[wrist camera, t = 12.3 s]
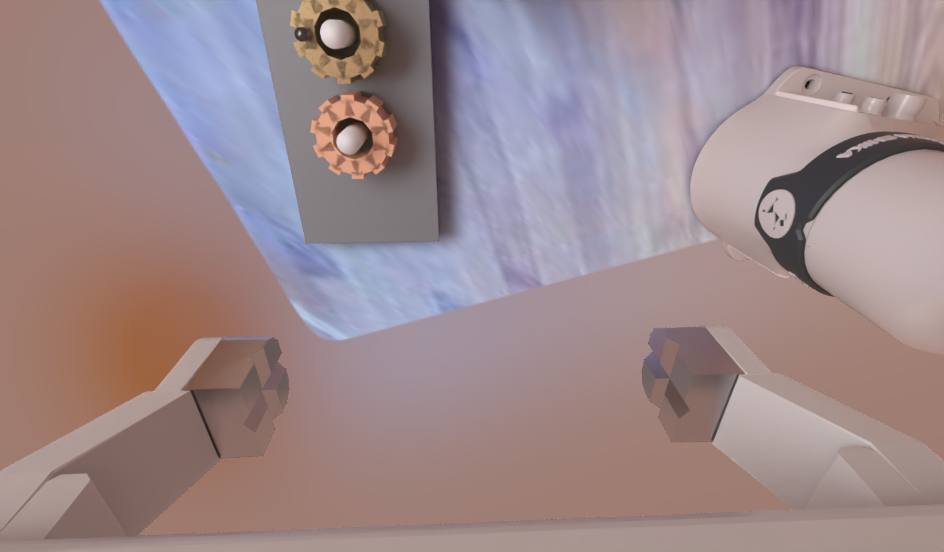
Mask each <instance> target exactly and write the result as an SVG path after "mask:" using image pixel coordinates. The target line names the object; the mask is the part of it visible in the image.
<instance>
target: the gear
mask: <svg viewBox="0 0 944 552" xmlns="http://www.w3.org/2000/svg"><path fill="white" fill-rule="evenodd" d="M371 1H372V0H303V1H302V4H301V6H300V8H299V10H298V11H296V10H292V11H291V20H290V26H292V27H295V28H296V29H295V32H294V34H295V37H296V39H297V40H298V41H297V42H294V43H293V44H294V46H295V48H296V50H297V53H298V55H299V57H305V56H306V58H307V59H308V60H309V61H310V62H311V64H312V65H313V67H312V69H311V71H312V72H313V73H315V74H316V75H318V76H319V77H321V78H322V79H325V78H327V77H330V76H332V77H335V78H337V83H338V84H352V83H353V82H355V81H357V80H358V75H359V74H361V76H362V77H363V78H364V79H365V78H367V77H368V76H370V75H372V74H373V73H374V72H375V71H376V70H377V69H378V68H380V67H379V66H378V64H377V63H376V62H377V61H378V59H379V57H383V56H386V55H387V51H388V46H389V41H386V40H384V30H383V28H384V27H386V26H388V24H387V21H386V18H385V16H384V13H383V11H379V10H375V9H374V7H373V6H372V4H371ZM338 10H344V11H347V12H349V13H350V14H351V16H352V17H353V18H354V20H355V21H356V22H357V24H358V25H359V29H360V38H361V43H360V45H359V47H358V49H357V51H356V52H355V54H354V55H353V56H351V57H345V56H342V55H340V54H337V53H336V52H335V51H334V50H333V49H332V48H330V47H328V46H327V45H325V44H324V42H323V41H322V39H321V35H320V29H321V26H322V24H323V23H324V22H325V21H327V20H328V18H329V16H330V14H331V13H333V12H336V11H338Z"/></svg>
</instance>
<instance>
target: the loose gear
mask: <svg viewBox="0 0 944 552" xmlns="http://www.w3.org/2000/svg"><path fill="white" fill-rule="evenodd" d="M340 96H341V99H340V98H339V97H338V96H337V95H335V96H333V97H332V98H330V99H328V100H327V101H326V102H325V103H323V104H322V105H321V106H320V107H319V109H320V111H321V112H322V114H320V115H319V116H317V117H316V118H314V119H313V120H312V124H311V131H310V132H311V133H314V134H316V140H317V143H316V144H315V145H314V146H313V148H314V150H315V152H316V154H317V156H318V158H320V157H324V158H325V159H326V160H327V161H328V162H329V163H330V166H329V168H328V169H330V170H331V171H333V172H335V173H336V174H338V175H340V173H341V172H346V173H349V174H351V175H352V179H364V178H365V176H366V175H367V173H368V172H371V171H373V172H374V173H375V174H378V173H379V172H380V171H381V170H383V169H384V168H385V166H386V164H387V162H388V160H389V157H388V156H390V157H392V155H393V153H394V151H395V149H396V145H397V141H398V137H395V136H394V135H393V131H394V129H395V127H396V126H397V123H396V120H395V118H394V115H393V113H391V114H387V112H386V111H385V110H384V109H383V107H382V105H383V103H384V102H383V101H382V100H381V99H379V98H378V97H376V96H375V95H372V96H371V97H370V98H367V97H364V96H361V90H348V91H346V92H345V93H343V94H341V95H340ZM349 117H351V118H354V119H358V120H361V121H363V122H364V123H365V124H366V125H367V127H368V128H369V129H370V130H371V132H372V137H373V147H372V148H369V149H366V150H363V151H360V150H358V151H357V152H356V153H355V154H351V155H348V154H345V153H343V152H341V151H340V150H339V148H338V146H337V142H336V141H337V137H338V135H339V134H340V133H341V128H340V125H341V123H342V121H343V119H346V118H349Z"/></svg>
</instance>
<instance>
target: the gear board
mask: <svg viewBox="0 0 944 552" xmlns="http://www.w3.org/2000/svg"><path fill="white" fill-rule="evenodd" d="M302 1H303V0H256V3H257V8H258V13H259V18H260V23H261V27H262V32H263V37H264V42H265V47H266V52H267V57H268V61H269V66H270V71H271V76H272V81H273V86H274V91H275V95H276V100H277V105H278V110H279V115H280V120H281V125H282V129H283V134H284V139H285V144H286V149H287V154H288V159H289V164H290V168H291V173H292V178H293V183H294V188H295V193H296V198H297V202H298V207H299V212H300V217H301V222H302V227H303V232H304V236H305V241H306V244H312V243H368V242H424V241H439V212H438V188H437V164H436V140H435V116H434V92H433V68H432V43H431V19H430V0H372V1H371V4H372V6H373V7H374V9H375V10H379V11H383V13H384V16H385V18H386V21H387V24H388V26H386V27H384V28H383V30H384V40H386V41H389V46H388V51H387V55H386V56H383V57H379V59H378V61H377V62H376V63H377V64H378V66H379V67H380V68H378V69H377V70H376V71H375V72H374V73H373V74H372V75H370V76H368V77H367V78H365V79H364V78H363V77H362V76H361V74H359V75H358V80H357V81H355V82H353V83H352V84H338V83H337V78H335V77H332V76H330V77H327V78H325V79H322V78H321V77H319V76H318V75H316V74H315V73H313V72H312V71H311V69H312V67H313V65H312V64H311V62H310V61H309V60H308V59H307V58H306V56H305V57H299V55H298V53H297V50H296V48H295V46H294V44H293V43H294V42H297V41H298V40H297V39H296V37H295V34H294V32H295V29H296V28H295V27H292V26H290V20H291V11H292V10H296V11H298V10H299V8H300V6H301V4H302ZM320 35H321V39H322V41H323V42H324V44H325V45H327V46H328V47H330V48H332V49H333V50H334V51H335V52H336V53H337V54H340V55H342V56H345V57H351V56H353V55H354V54H355V52H356V51H357V49H358V47H359V45H360V43H361V38H360V29H359V25H358V24H357V22H356V21H355V20H354V18H353V17H352V16H351V14H350V13H349V12H347V11H344V10H338V11H336V12H333V13H331V14H330V16H329V18H328V20H327V21H325V22H324V23H323V24H322V26H321V29H320ZM348 90H361V96H364V97H367V98H370V97H371V96H372V95H375V96H376V97H378V98H379V99H381V100H382V101H383V102H384V103H383V105H382V107H383V109H384V110H385V111H386V112H387V114H391V113H393V115H394V118H395V120H396V123H397V126H396V127H395V129H394V131H393V135H394V136H395V137H398V141H397V145H396V149H395V151H394V153H393V155H392V157H390V156H388V157H389V160H388V162H387V164H386V166H385V168H384V169H383V170H381V171H380V172H379V173H378V174H375V173H374V172H373V171H371V172H368V173H367V175H366V176H365V178H364V179H352V175H351V174H349V173H346V172H341V173H340V175H338V174H336V173H335V172H333V171H331V170H330V169H328V168H329V166H330V163H329V162H328V161H327V160H326V159H325V158H324V157H320V158H318V156H317V154H316V152H315V150H314V148H313V146H314V145H315V144H316V143H317V140H316V134H314V133H311V132H310V131H311V124H312V120H313V119H314V118H316V117H317V116H319V115H320V114H322V112H321V111H320V109H319V107H320V106H321V105H322V104H323V103H325V102H326V101H327V100H328V99H330V98H332V97H333V96H335V95H337V96H338V97H339V98H340V99H341V96H340V95H341V94H343V93H345V92H346V91H348ZM340 128H341V133H340V134H339V135H338V137H337V141H336V142H337V146H338V148H339V150H340V151H341V152H343V153H345V154H348V155H351V154H355V153H356V152H357V151H358V150H360V151H363V150H366V149H369V148H372V147H373V137H372V132H371V130H370V129H369V128H368V127H367V125H366V124H365V123H364V122H363V121H361V120H358V119H354V118H351V117H349V118H346V119H343V121H342V123H341V125H340Z"/></svg>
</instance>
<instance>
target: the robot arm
mask: <svg viewBox="0 0 944 552" xmlns="http://www.w3.org/2000/svg"><path fill="white" fill-rule="evenodd" d="M808 80H809V85H808V86H807V87H806V88H805V84H806V82H807V81H808ZM939 118H940V111H939V102H938V100H937V99H935V98H933V97H930V96H926V95H922V94H918V93H914V92H910V91H906V90H902V89H897V88H893V87H889V86H885V85H880V84H876V83H872V82H868V81H863V80H859V79H855V78H851V77H846V76H842V75H838V74H834V73H829V72H825V71H821V70H817V69H812V68H808V67H804V66H793V67H791V68H789V69H787V70H786V71H785V72H784V73H783V74H781V75H780V77H779V78H778V79H777V80H776V81H775V82H774V83H773V84H772V85H771V86H770V87H769V89H768V90H767V91H766V92H765V93H764V94H763V95H762V96H760V97H759V98H758V99H756V100H755V101H753V102H751V103H750V104H748V105H746V106H745V107H743V108H742V109H740V110H739V111H737V112H736V113H734V114H733V115H732V116H730V117H729V118H728V119H727V120H726V121H725V122H724V123H722V124H721V125H720V126H719V127H718V129H717V130H716V131H715V132H714V133H713V134H712V136H711V137H710V138H709V140H708V141H707V142H706V144H705V145H704V147H703V149H702V150H701V152H700V154H699V156H698V158H697V161H696V163H695V166H694V169H693V172H692V177H691V183H690V198H691V203H692V207H693V210H694V212H695V214H696V216H697V218H698V219H699V221H700V222H701V223H702V224H703V225H704V226H705V227H706V228H707V229H708V230H710V231H711V232H712V233H714V234H715V235H716V236H717V237H718V238H719V239H720V240H721V243H722V245H723V248H724V250H725V252H726V254H727V255H728V256H729V257H731V258H733V259H734V260H737V261H743V260H748V259H751V260H752V261H754V262H756V263H757V264H759V265H761V266H762V267H764V268H766V269H767V270H769V271H771V272H773V273H774V274H776V275H778V276H780V277H783V278H789V277H791V276H793V277H794V278H795V279H797V280H798V281H800V282H801V283H803V284H805V285H806V286H808V287H811V288H813V289H815V290H817V291H818V292H820V293H823V294H825V295H828V296H833V297H836V298H838V299H839V300H840V301H842V302H843V303H845V304H846V305H847V306H849V307H850V308H852V309H853V310H855V311H856V312H857V313H859V314H860V315H862V316H863V317H865V318H866V319H867V320H869V321H870V322H872V323H873V324H875V325H876V326H877V327H879V328H880V329H882V330H883V331H885V332H886V333H887V334H889V335H890V336H892V337H893V338H895V339H896V340H897V341H899V342H900V343H902V344H904V345H906V346H908V347H911V348H913V349H916V350H919V351H923V352H927V353H932V354H937V355H943V356H944V127H943V126H939ZM648 344H649V345H650V347H651V349H652V350H653V352H651V353H650V354H649V355H648V356H647V357H646V358H645V359H644V363H643V368H642V382H643V386H644V390H645V393H646V395H647V397H648V399H649V401H650V402H651V403H653V404H654V405H656V406H658V407H659V408H660V412H659V416H658V418H659V420H660V421H661V423H662V425H663V427H664V429H665V431H666V433H667V434H668V436H669V438H670V440H671V442H713V443H712V444H713V445H714V446H716V447H717V448H718V449H719V450H721V451H722V452H723V453H724V454H726V455H727V456H728V457H729V458H730V459H732V460H733V461H734V462H735V463H737V464H738V465H739V466H740V467H742V468H743V469H744V470H745V471H747V472H748V473H749V474H750V475H751V476H753V477H754V478H755V479H756V480H758V481H759V482H760V483H761V484H763V485H764V486H765V487H766V488H767V489H769V490H770V491H771V492H772V493H774V494H775V495H776V496H777V497H778V498H780V499H781V500H782V501H783V502H785V503H786V504H787V505H788V506H790V507H791V508H792V509H793V510H775V511H748V512H724V513H723V512H722V513H696V514H671V515H649V516H648V515H647V516H622V517H597V518H572V519H545V520H520V521H498V522H497V521H495V522H471V523H445V524H418V525H395V526H394V525H393V526H367V527H342V528H317V529H293V530H267V531H243V532H217V533H191V534H166V535H141V536H137V535H138V534H140V533H141V532H142V531H143V530H144V529H145V528H146V527H147V526H148V525H150V524H151V523H152V522H153V521H154V520H155V519H156V518H157V517H158V516H159V515H160V514H162V513H163V512H164V511H165V510H166V509H167V508H168V507H169V506H171V505H172V504H173V503H174V502H175V501H176V500H177V499H178V498H179V497H181V495H182V494H184V493H185V492H186V491H187V490H188V489H189V488H190V487H192V486H193V485H194V484H195V483H196V482H197V481H198V480H199V479H200V478H201V477H203V476H204V475H205V474H206V473H207V472H208V471H209V470H210V469H211V468H213V467H214V466H215V465H216V464H217V463H218V462H219V461H220V460H219V459H223V458H239V457H255V456H263V455H264V453H265V451H266V449H267V446H268V444H269V442H270V440H271V437H272V435H273V433H274V430H275V427H274V424H273V421H272V420H273V419H275V418H276V417H277V416H279V415H280V414H281V413H283V410H284V408H285V405H286V403H287V398H288V392H289V379H288V374H287V371H286V369H285V368H284V367H283V366H282V365H281V364H279V363H278V362H277V361H278V359H279V357H280V355H281V353H282V352H281V349H280V346H279V343H278V340H276V339H275V338H273V337H238V338H237V337H227V338H202V339H199V340H196V341H195V342H194V344H193V345H192V346H191V347H190V349H189V350H188V351H187V352H186V353H185V354H184V356H183V357H182V358H181V359H180V360H179V362H178V363H177V364H176V365H175V366H174V368H173V369H172V370H171V371H170V373H169V374H168V375H167V376H166V377H165V378H164V380H163V381H162V382H161V383H160V384H159V386H158V387H157V388H156V389H155V390H154V392H144V393H143V394H141V395H139V396H137V397H135V398H133V399H132V400H130V401H128V402H126V403H124V404H122V405H120V406H119V407H117V408H115V409H113V410H111V411H110V412H108V413H106V414H104V415H102V416H100V417H98V418H97V419H95V420H93V421H91V422H89V423H88V424H86V425H84V426H82V427H80V428H78V429H76V430H75V431H73V432H71V433H69V434H67V435H66V436H64V437H62V438H60V439H58V440H56V441H55V442H53V443H51V444H49V445H47V446H45V447H44V448H42V449H40V450H38V451H36V452H34V453H33V454H31V455H29V456H27V457H25V458H23V459H22V460H20V461H18V462H16V463H14V464H12V465H11V466H9V467H7V468H5V469H3V470H1V471H0V552H944V461H943V460H942V459H941V458H939V457H938V456H937V455H936V454H935V453H934V452H933V451H932V450H930V449H929V448H928V447H927V446H926V445H925V444H924V443H922V442H920V441H918V440H916V439H914V438H912V437H909V436H908V435H905V434H903V433H901V432H899V431H897V430H895V429H893V428H891V427H889V426H887V425H885V424H883V423H880V422H878V421H877V420H875V419H872V418H870V417H868V416H866V415H864V414H862V413H860V412H858V411H856V410H853V409H852V408H849V407H847V406H845V405H844V404H841V403H839V402H837V401H835V400H833V399H831V398H829V397H827V396H825V395H823V394H821V393H819V392H817V391H815V390H813V389H811V388H808V387H806V386H804V385H802V384H800V383H798V382H796V381H794V380H792V379H790V378H788V377H786V376H784V375H782V374H772V373H771V372H770V371H769V370H768V369H767V367H766V366H765V365H764V364H763V363H762V362H761V361H760V360H759V359H758V358H757V357H756V356H755V355H754V354H753V353H752V352H751V350H750V349H749V348H748V347H747V346H746V345H745V344H744V343H743V342H742V341H741V340H740V339H739V338H738V336H736V335H735V333H734V332H733V331H732V330H731V329H730V328H728V327H726V326H724V325H711V326H700V327H681V328H654V330H653V331H652V333H651V335H650V338H649V342H648Z"/></svg>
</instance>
